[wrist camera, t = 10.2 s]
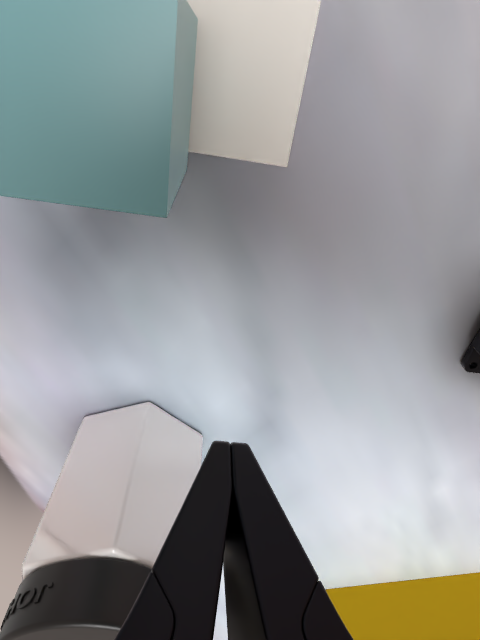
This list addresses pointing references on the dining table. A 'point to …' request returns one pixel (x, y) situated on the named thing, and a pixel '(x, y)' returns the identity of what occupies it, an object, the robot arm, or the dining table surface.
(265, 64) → the board
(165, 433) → the jar
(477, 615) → the yellow pink arched block
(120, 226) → the dining table surface
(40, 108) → the teal block
